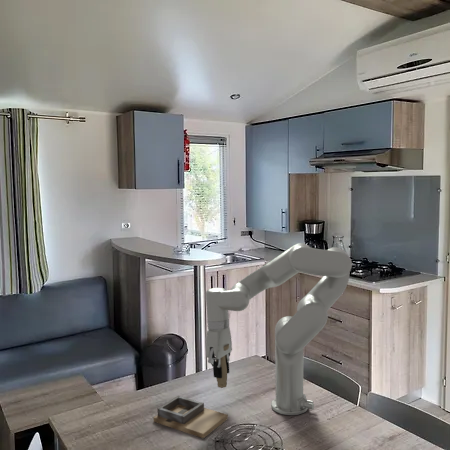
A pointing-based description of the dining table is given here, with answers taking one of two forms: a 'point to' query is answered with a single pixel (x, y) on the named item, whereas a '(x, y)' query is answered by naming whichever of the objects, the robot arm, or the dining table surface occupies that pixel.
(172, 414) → the subfloor panel
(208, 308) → the robot arm
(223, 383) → the handle
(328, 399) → the dining table surface
